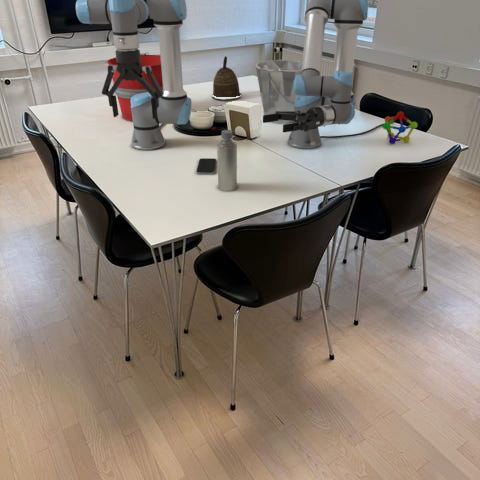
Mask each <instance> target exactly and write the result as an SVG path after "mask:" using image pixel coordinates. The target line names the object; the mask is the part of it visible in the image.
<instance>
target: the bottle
mask: <svg viewBox="0 0 480 480" xmlns="http://www.w3.org/2000/svg"><path fill="white" fill-rule="evenodd" d="M216 149H217V150H216V151H217V152H216V153H217V157H216V158H217V188H218V190H220V191H222V192H232V191H233V192H234V191H235V190H237V188H238V144H237V143H236V141H234V140H233V138H231V139H223V138H221V140H220V141H219V142H217V145H216Z"/></svg>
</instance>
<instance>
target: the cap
mask: <svg viewBox="0 0 480 480" xmlns="http://www.w3.org/2000/svg"><path fill="white" fill-rule="evenodd" d="M220 132H221V133H220V135H221V137H220V138H221V139H233V130H231V129H222V130H221V131H220Z"/></svg>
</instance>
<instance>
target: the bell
mask: <svg viewBox="0 0 480 480" xmlns="http://www.w3.org/2000/svg"><path fill="white" fill-rule="evenodd" d="M227 63H228V57H227V56H224V58H223V63H222V67H221V68H219V69H218V70H217V71H216V73H215V75H214V78H213V81H212V83H213V84H212V95H214V96H216V97H236V96H240V95H241V96H242V93H241V92H240V83H239V80H238V79H239V78H238V77H237V75H236V73H235V72H234V70H232V69H231V68H230V67H227Z"/></svg>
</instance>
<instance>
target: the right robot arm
mask: <svg viewBox="0 0 480 480" xmlns="http://www.w3.org/2000/svg"><path fill="white" fill-rule="evenodd" d="M368 13H369V0H309V2H308V4H307V6H306V9H305V11H304V22H305V24H306V25H305V32H304V33H305V34H304V42H303V50H302V58H301V59H302V60H301V62H302V67H301V75H296V76H295V81H294V93H295V94H296V95H297V96H296V98H295V105H294V107H295V109H294V111H276V112H275V114H269V115H264V114H263V115H262V123H263V124H264V123H265V124H267V123H274V122H273V121H277V122H278V120H290V121H293V122H290V123H282V133H290V134H289V135H288V139H287V143H288V145H289V146H290V147H293V148H295V149H301V150H311V149H316V148H319V147H321V144H322V139H337V138H338V139H340V138H348V137H349V138H350V137H356V136H362V135H365V134H368V133H370V132H373V131H374V130H376V129H378V128H381V127H383V124H384V123H385V122H383V123H380V124H379V125H377V126H374V127H373V128H370V129H368V130H366V131H362V132H359V133H353V134H352V133H351V134H342V135H320V130H319V127H324V128H325V127H326V126H330V125H348V124H350V123H351V121H352V120H353V119H355V116H356V110H355V108H356V103H357V98H356V97H354V92H353V85H354V83H353V82H354V74H353V73H354V66H355V58H356V50H357V42H358V35H359V34H358V33H359V29H360V28H362V26H363V25H364V21H367V19H368ZM329 20H334V21H333V26H335V27H336V37H335V46H334V53H333V54H334V56H333V65H332V72H331V73H332V74H331V75H330V76H328V75H327V76H326V75H321V68H322V59H323V50H324V40H325V30H326V25H327V23H328V21H329ZM394 123H395V121H394V122H392V123H391V124H394Z"/></svg>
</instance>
